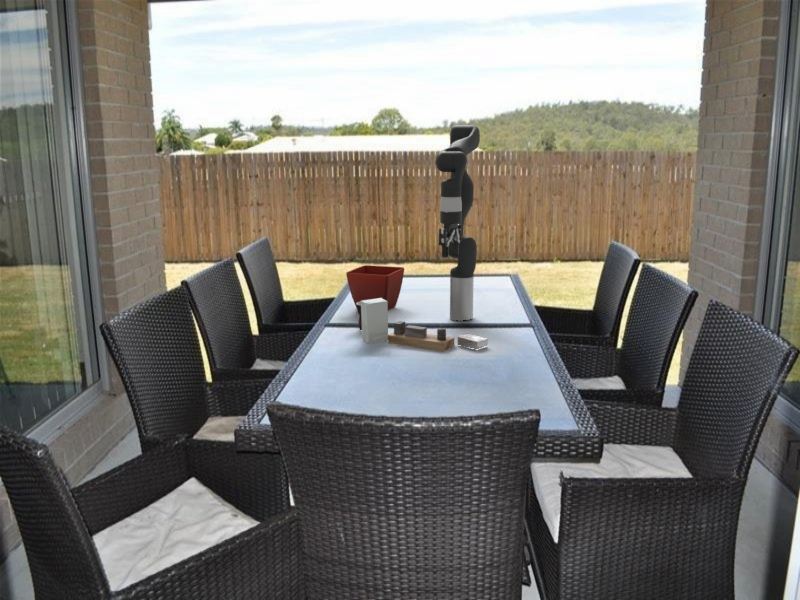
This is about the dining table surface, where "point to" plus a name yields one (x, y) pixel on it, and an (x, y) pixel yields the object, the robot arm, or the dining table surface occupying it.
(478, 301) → the dining table surface
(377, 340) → the skincare box
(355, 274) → the plant pot
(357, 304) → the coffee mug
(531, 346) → the dining table surface
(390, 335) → the body
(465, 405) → the dining table surface
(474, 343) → the lever cap
